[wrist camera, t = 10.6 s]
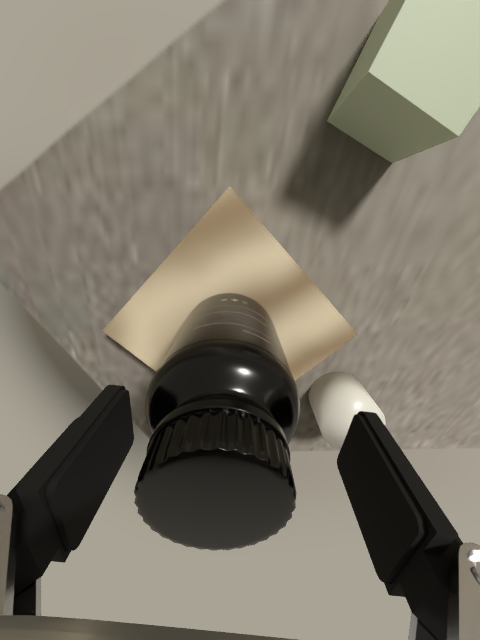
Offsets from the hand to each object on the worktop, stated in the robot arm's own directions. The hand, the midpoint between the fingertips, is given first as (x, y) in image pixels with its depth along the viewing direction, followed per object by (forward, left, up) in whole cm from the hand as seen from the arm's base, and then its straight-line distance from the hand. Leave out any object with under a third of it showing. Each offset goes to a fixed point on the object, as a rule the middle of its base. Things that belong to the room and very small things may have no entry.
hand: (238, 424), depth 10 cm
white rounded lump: (-11, -1, -11) cm, 16 cm away
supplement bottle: (+1, +1, -9) cm, 9 cm away
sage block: (+5, -16, -11) cm, 20 cm away
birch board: (+1, +1, -10) cm, 10 cm away
